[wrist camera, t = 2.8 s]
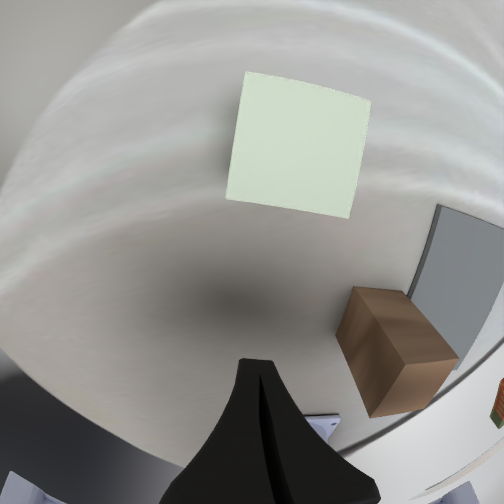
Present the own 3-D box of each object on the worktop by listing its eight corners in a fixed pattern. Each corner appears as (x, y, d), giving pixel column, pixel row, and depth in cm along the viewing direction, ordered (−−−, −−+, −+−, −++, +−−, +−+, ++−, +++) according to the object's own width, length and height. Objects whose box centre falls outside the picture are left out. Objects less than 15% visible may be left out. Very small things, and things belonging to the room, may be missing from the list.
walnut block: (382, 336, 18) (424, 408, 11) (335, 335, 17) (369, 418, 11) (402, 290, 16) (459, 358, 10) (353, 286, 16) (405, 364, 10)
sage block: (307, 187, 14) (348, 218, 8) (232, 175, 14) (225, 199, 8) (319, 116, 12) (370, 101, 7) (244, 101, 12) (245, 71, 7)
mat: (454, 366, 20) (457, 369, 20) (368, 376, 19) (370, 380, 19) (515, 234, 15) (519, 236, 15) (437, 204, 14) (442, 206, 14)
